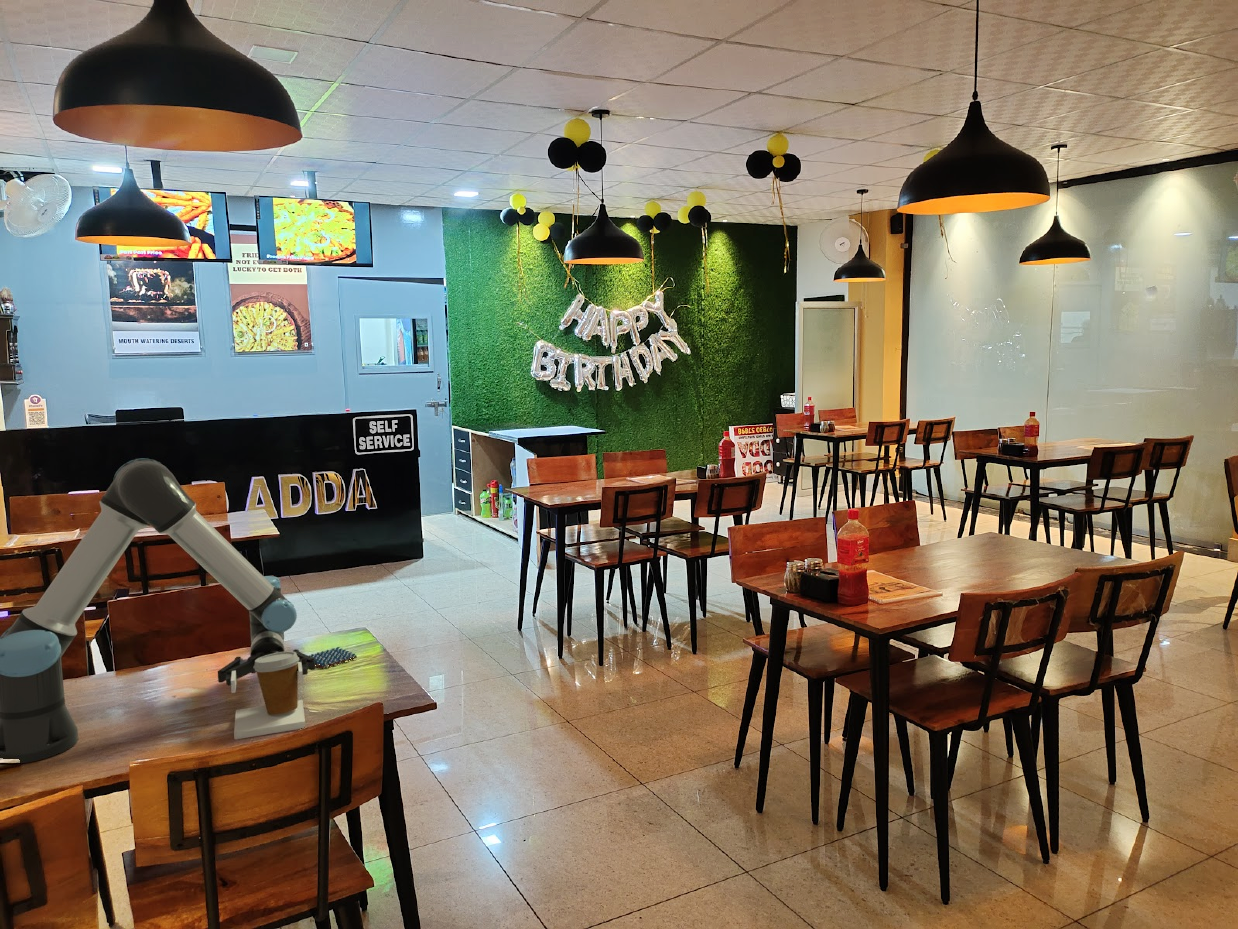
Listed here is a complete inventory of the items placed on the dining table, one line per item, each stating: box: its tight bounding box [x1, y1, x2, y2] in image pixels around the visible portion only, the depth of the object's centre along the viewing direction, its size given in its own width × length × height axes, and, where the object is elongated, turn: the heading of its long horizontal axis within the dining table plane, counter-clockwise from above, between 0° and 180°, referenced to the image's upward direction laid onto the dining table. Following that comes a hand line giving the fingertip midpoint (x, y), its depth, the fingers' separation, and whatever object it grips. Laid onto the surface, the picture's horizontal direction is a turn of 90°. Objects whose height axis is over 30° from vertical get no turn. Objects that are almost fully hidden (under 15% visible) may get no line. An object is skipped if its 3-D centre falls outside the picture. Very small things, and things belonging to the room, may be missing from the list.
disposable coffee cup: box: [253, 651, 299, 715], centre depth 191 cm, size 10×10×12 cm
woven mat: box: [308, 646, 358, 669], centre depth 228 cm, size 10×11×2 cm
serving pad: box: [233, 699, 306, 740], centre depth 190 cm, size 14×13×2 cm
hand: (267, 682), depth 186 cm, fingers open, 13 cm apart
